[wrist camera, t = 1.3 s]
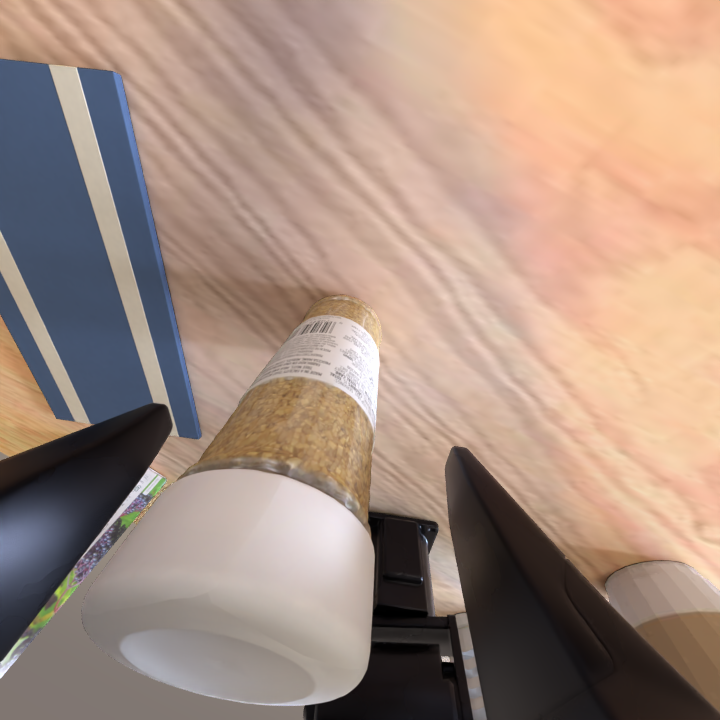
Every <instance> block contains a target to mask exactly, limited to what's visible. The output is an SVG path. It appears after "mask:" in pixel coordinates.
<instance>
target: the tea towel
mask: <svg viewBox="0 0 720 720" xmlns="http://www.w3.org/2000/svg"><path fill="white" fill-rule="evenodd" d="M0 315H1V316H2V318H3V320H4V322H5V324H6V326H7V328H8V330H9V331H10V333H11V335H12V337H13V339H14V341H15V343H16V344H17V346H18V348H19V350H20V352H21V354H22V356H23V357H24V359H25V361H26V363H27V365H28V367H29V369H30V370H31V372H32V374H33V376H34V378H35V380H36V382H37V383H38V385H39V387H40V389H41V391H42V393H43V395H44V396H45V398H46V400H47V402H48V404H49V406H50V408H51V409H52V411H53V413H54V415H55V417H56V419H62V420H69V421H76V422H81V423H88V424H98V423H100V422H103V421H105V420H108V419H111V418H113V417H116V416H118V415H121V414H124V413H126V412H129V411H131V410H134V409H137V408H139V407H142V406H145V405H147V404H150V403H159V404H165V405H166V406H167V407H168V409H169V412H170V416H171V419H172V423H173V428H172V431H171V433H170V434H169V435H170V436H177V437H185V438H192V439H200V437H201V436H202V435H201V431H200V426H199V422H198V418H197V413H196V409H195V404H194V400H193V395H192V391H191V386H190V382H189V377H188V373H187V368H186V364H185V359H184V355H183V351H182V346H181V342H180V337H179V333H178V328H177V324H176V319H175V315H174V310H173V306H172V301H171V297H170V293H169V288H168V284H167V279H166V275H165V270H164V266H163V261H162V257H161V252H160V248H159V243H158V239H157V235H156V230H155V226H154V221H153V217H152V212H151V208H150V203H149V199H148V194H147V190H146V185H145V181H144V176H143V172H142V168H141V163H140V159H139V154H138V150H137V145H136V141H135V136H134V132H133V127H132V123H131V118H130V114H129V110H128V105H127V101H126V96H125V92H124V87H123V83H122V78H121V75H119V74H117V73H115V72H113V71H106V70H97V69H88V68H79V67H71V66H62V65H53V64H42V63H33V62H24V61H15V60H6V59H0Z"/></svg>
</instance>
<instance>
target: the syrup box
mask: <svg viewBox="0 0 720 720" xmlns="http://www.w3.org/2000/svg"><path fill="white" fill-rule="evenodd" d="M166 481H167V480H166V478H165V477H164V476H162V475H161V474H159V473H158V472H156V471H154V470H153V469H151V468H148V470H147V471H146V473H145V474H144V476H143V477H142V478H141V480H140V481H139V482H138V484H137V485H136V486H135V488H134V489H133V490H132V492H131V493H130V494H129V496H128V497H127V498H126V500H125V501H124V502H123V503H122V505H121V506H120V507H119V509H118V510H117V511H116V513H115V514H114V515H113V517H112V518H111V519H110V521H109V522H108V523H107V524H106V526H105V527H104V528H103V530H102V531H101V532H100V534H99V535H98V536H97V538H96V539H95V540H94V542H93V543H92V544H91V545H90V547H89V548H88V549H87V551H86V552H85V553H84V555H83V556H82V557H81V559H80V560H79V561H78V563H77V564H76V565H75V566H74V568H73V569H72V570H71V572H70V573H69V574H68V576H67V577H66V578H65V580H64V581H63V582H62V583H61V585H60V586H59V587H58V589H57V590H56V591H55V593H54V594H53V595H52V597H51V598H50V599H49V601H48V602H47V603H46V604H45V606H44V607H43V608H42V610H41V611H40V612H39V614H38V615H37V616H36V618H35V619H34V620H33V622H32V623H31V624H30V625H29V627H28V628H27V629H26V631H25V632H24V633H23V635H22V636H21V637H20V639H19V640H18V641H17V643H16V644H15V645H14V646H13V648H12V649H11V650H10V652H9V653H8V654H7V656H6V657H5V658H4V660H3V661H1V662H0V678H1V677H2V676H3V675H4V674H5V672H6V671H7V670H8V669H9V668H10V667H11V665H12V664H13V663H14V662H15V661H16V659H17V658H18V657H19V656H20V654H22V652H23V651H24V650H25V649H26V648H27V646H28V645H29V644H30V643H31V642H32V640H33V639H34V638H35V637H36V636H37V635H38V633H39V632H40V631H41V630H42V629H43V628H44V626H45V625H46V624H47V622H49V620H50V619H51V618H52V617H53V616H54V614H55V613H56V612H57V611H58V610H59V609H60V607H61V606H62V605H63V604H64V603H65V602H66V600H67V599H68V598H69V597H70V596H71V594H72V593H73V592H74V591H75V590H76V588H77V587H78V586H79V585H80V584H81V583H82V581H83V580H84V579H85V578H86V576H87V575H88V574H89V573H90V572H91V571H92V569H93V568H94V567H95V566H96V565H97V564H98V562H99V561H100V560H101V559H102V558H103V556H104V555H105V554H106V553H107V552H108V551H109V549H110V548H111V547H112V545H114V543H115V542H116V541H117V540H118V539H119V537H120V536H121V535H122V534H123V533H124V531H125V530H126V529H127V528H128V527H129V525H130V524H131V523H132V522H133V521H134V520H135V518H136V517H137V516H138V515H139V514H140V512H141V511H142V510H143V509H144V508H145V507H146V505H147V504H148V503H149V502H150V501H151V499H152V498H153V497H154V496H155V495H156V493H157V492H158V491H159V490H160V489H161V488H162V486H163V485H164V484H165V483H166Z"/></svg>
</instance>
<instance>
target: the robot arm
mask: <svg viewBox="0 0 720 720" xmlns="http://www.w3.org/2000/svg"><path fill="white" fill-rule="evenodd" d="M172 428H173V423H172V419H171V416H170V412H169V409H168V407H167V406H166V405H165V404H159V403H150V404H147V405H145V406H142V407H139V408H137V409H134V410H131V411H129V412H126V413H124V414H121V415H118V416H116V417H113V418H111V419H108V420H105V421H103V422H100V423H98V424H95V425H92V426H90V427H87V428H85V429H82V430H79V431H77V432H74V433H71V434H69V435H66V436H64V437H61V438H58V439H56V440H53V441H51V442H48V443H45V444H43V445H40V446H38V447H35V448H32V449H30V450H27V451H25V452H22V453H19V454H17V455H14V456H11V457H9V458H6V459H4V460H1V461H0V662H1V661H3V660H4V658H5V657H6V656H7V654H8V653H9V652H10V650H11V649H12V648H13V646H14V645H15V644H16V643H17V641H18V640H19V639H20V637H21V636H22V635H23V633H24V632H25V631H26V629H27V628H28V627H29V625H30V624H31V623H32V622H33V620H34V619H35V618H36V616H37V615H38V614H39V612H40V611H41V610H42V608H43V607H44V606H45V604H46V603H47V602H48V601H49V599H50V598H51V597H52V595H53V594H54V593H55V591H56V590H57V589H58V587H59V586H60V585H61V583H62V582H63V581H64V580H65V578H66V577H67V576H68V574H69V573H70V572H71V570H72V569H73V568H74V566H75V565H76V564H77V563H78V561H79V560H80V559H81V557H82V556H83V555H84V553H85V552H86V551H87V549H88V548H89V547H90V545H91V544H92V543H93V542H94V540H95V539H96V538H97V536H98V535H99V534H100V532H101V531H102V530H103V528H104V527H105V526H106V524H107V523H108V522H109V521H110V519H111V518H112V517H113V515H114V514H115V513H116V511H117V510H118V509H119V507H120V506H121V505H122V503H123V502H124V501H125V500H126V498H127V497H128V496H129V494H130V493H131V492H132V490H133V489H134V488H135V486H136V485H137V484H138V482H139V481H140V480H141V478H142V477H143V476H144V474H145V473H146V471H147V470H148V468H149V466H150V465H151V463H152V462H153V460H154V458H155V457H156V455H157V454H158V452H159V450H160V449H161V447H162V446H163V444H164V442H165V441H166V439H167V438H168V436H169V434H170V433H171V431H172ZM445 480H446V492H447V504H448V516H449V524H450V530H451V536H452V541H453V546H454V551H455V556H456V562H457V567H458V572H459V577H460V582H461V588H462V593H463V598H464V603H465V608H466V614H467V619H468V624H469V629H470V634H471V640H472V645H473V650H474V655H475V660H476V666H477V671H478V676H479V681H480V687H481V692H482V697H483V702H484V707H485V713H486V718H487V720H720V712H719V711H718V710H717V709H716V708H715V707H714V706H713V705H712V704H711V703H710V702H709V701H708V700H707V699H706V698H705V697H704V696H703V695H702V694H701V693H700V692H699V691H698V690H697V689H696V688H695V687H694V686H693V685H692V684H691V683H690V682H688V681H687V680H686V679H685V678H684V677H683V676H682V675H681V674H680V673H679V672H678V671H677V670H676V669H675V668H674V667H673V666H672V665H671V664H670V663H669V662H668V661H667V660H666V659H665V658H664V657H663V656H662V655H661V654H660V653H659V652H658V651H657V650H656V649H655V648H654V647H653V646H652V645H651V644H650V643H649V642H648V641H647V640H646V639H645V638H644V637H643V636H642V635H641V634H640V633H639V632H638V631H637V630H636V629H635V628H634V627H633V626H632V625H631V624H630V623H629V622H628V621H627V620H626V619H625V618H624V617H623V616H622V615H621V614H620V613H619V612H618V611H617V610H616V609H615V608H614V607H613V606H612V605H611V604H610V603H609V602H608V601H607V600H606V599H605V598H604V597H603V596H602V595H601V594H600V593H599V592H598V591H597V590H596V589H595V588H594V586H593V585H592V584H591V583H590V582H589V581H588V580H587V579H586V578H585V577H584V576H583V575H582V574H581V573H580V571H579V570H578V569H577V568H576V567H575V566H574V565H573V564H572V563H571V562H570V561H569V560H568V559H565V555H564V554H563V553H562V552H561V551H560V550H559V549H558V548H557V546H556V545H555V544H554V543H553V542H552V541H551V540H550V539H549V538H548V537H547V535H546V534H545V533H544V532H543V531H542V530H541V529H540V528H539V527H538V526H537V524H536V523H535V522H534V521H533V520H532V519H531V518H530V517H529V516H528V515H527V513H526V512H525V511H524V510H523V509H522V508H521V507H520V506H519V505H518V504H517V503H516V501H515V500H514V499H513V498H512V497H511V496H510V495H509V494H508V493H507V492H506V490H505V489H504V488H503V487H502V486H501V485H500V484H499V483H498V482H497V481H496V479H495V478H494V477H493V476H492V475H491V474H490V473H489V472H488V471H487V470H486V468H485V467H484V466H483V465H482V464H481V463H480V462H479V461H478V460H477V459H476V458H475V456H474V455H473V454H472V453H471V452H470V451H469V450H468V449H467V448H464V447H458V446H454V447H452V448H451V451H450V454H449V456H448V459H447V462H446V465H445ZM368 524H369V526H370V530H371V541H372V543H373V546H374V553H375V565H374V589H373V611H372V628H371V646H370V656H369V662H368V667H367V670H366V672H365V674H364V676H363V679H362V680H361V681H360V683H359V684H358V685H357V686H356V687H355V688H354V689H353V690H352V691H350V692H349V693H348V694H346V695H344V696H342V697H339V698H337V699H334V700H332V701H328V702H324V703H317V704H311V705H305V707H304V713H303V718H304V720H473V714H472V708H471V702H470V696H469V690H468V685H467V679H466V673H465V668H464V662H463V656H462V651H461V645H460V639H459V634H458V628H457V622H456V617H455V615H447V617H436V616H435V608H434V599H433V591H432V582H431V574H430V565H429V556H428V555H429V553H430V550H431V548H432V545H433V543H434V540H435V538H436V536H437V533H438V531H439V529H438V524H437V523H436V522H433V521H427V520H420V519H413V518H407V517H400V516H393V515H387V514H380V513H374V512H368ZM441 656H448V657H453V662H442V659H441Z"/></svg>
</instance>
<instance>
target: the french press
mask: <svg viewBox="0 0 720 720" xmlns="http://www.w3.org/2000/svg"><path fill="white" fill-rule="evenodd" d="M455 617H456V622H457V628H458V634H459V639H460V645H461V651H462V656H463V662H464V668H465V673H466V679H467V685H468V690H469V696H470V702H471V708H472V714H473V720H487V718H486V713H485V707H484V702H483V697H482V692H481V687H480V681H479V676H478V671H477V666H476V660H475V655H474V650H473V645H472V640H471V634H470V629H469V624H468V619H467V614H466V613H459V614H456V615H455ZM450 662H453V657H450Z"/></svg>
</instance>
